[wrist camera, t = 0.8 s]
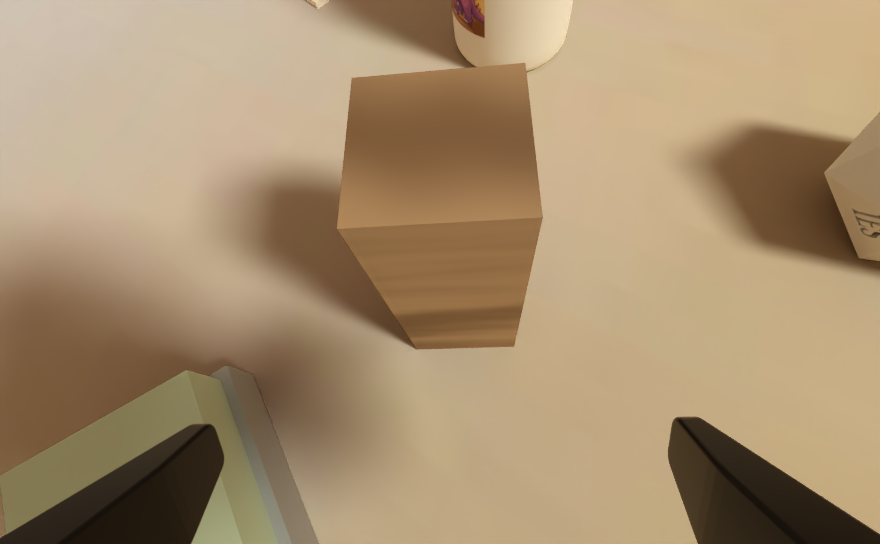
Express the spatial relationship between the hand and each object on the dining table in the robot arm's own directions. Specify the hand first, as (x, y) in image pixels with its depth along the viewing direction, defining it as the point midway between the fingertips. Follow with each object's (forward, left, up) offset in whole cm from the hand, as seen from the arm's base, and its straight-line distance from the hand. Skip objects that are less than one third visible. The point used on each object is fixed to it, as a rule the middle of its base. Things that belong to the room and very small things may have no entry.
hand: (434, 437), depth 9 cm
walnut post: (+6, -4, -13) cm, 15 cm away
